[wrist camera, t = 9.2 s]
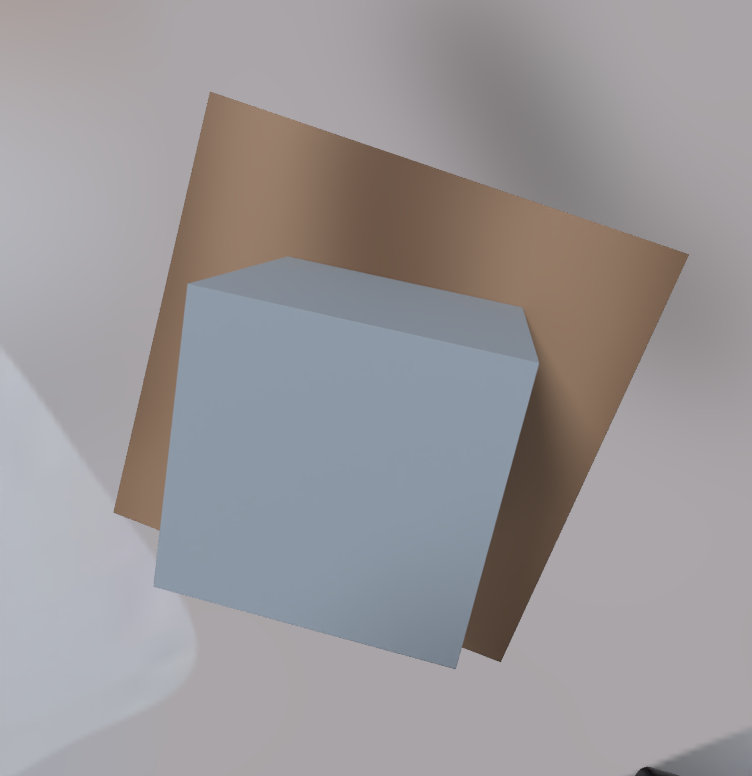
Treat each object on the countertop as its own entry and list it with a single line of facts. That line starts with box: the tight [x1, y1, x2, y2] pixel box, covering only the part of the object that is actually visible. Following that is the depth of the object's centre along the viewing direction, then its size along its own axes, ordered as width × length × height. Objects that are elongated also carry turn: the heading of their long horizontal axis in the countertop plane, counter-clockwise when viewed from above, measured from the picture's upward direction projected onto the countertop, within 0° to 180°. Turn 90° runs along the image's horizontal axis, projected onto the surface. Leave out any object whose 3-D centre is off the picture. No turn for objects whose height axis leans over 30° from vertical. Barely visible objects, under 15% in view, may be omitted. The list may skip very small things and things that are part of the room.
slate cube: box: [154, 256, 539, 669], centre depth 12 cm, size 5×5×5 cm
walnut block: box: [114, 92, 689, 662], centre depth 17 cm, size 10×10×4 cm
